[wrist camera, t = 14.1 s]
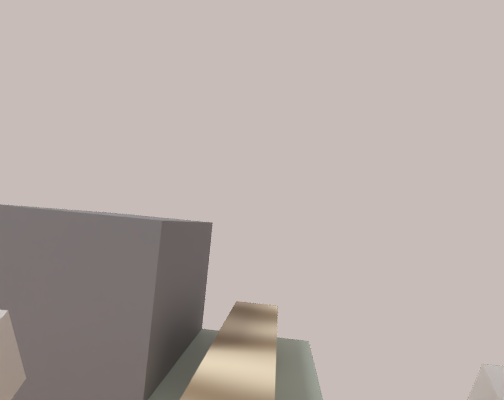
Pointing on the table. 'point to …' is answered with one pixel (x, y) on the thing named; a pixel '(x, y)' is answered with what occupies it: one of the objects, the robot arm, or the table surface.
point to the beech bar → (239, 357)
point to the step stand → (116, 306)
